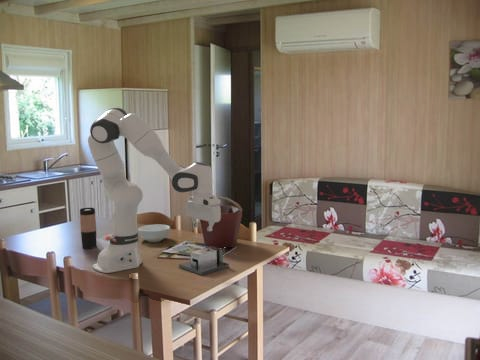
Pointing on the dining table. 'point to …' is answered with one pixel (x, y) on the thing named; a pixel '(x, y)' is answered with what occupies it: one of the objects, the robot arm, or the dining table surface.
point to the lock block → (204, 257)
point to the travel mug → (88, 228)
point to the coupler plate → (207, 269)
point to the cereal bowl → (154, 232)
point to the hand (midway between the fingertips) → (202, 229)
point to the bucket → (223, 227)
